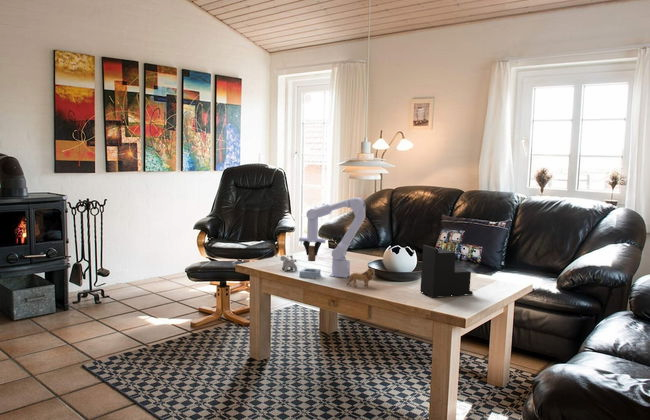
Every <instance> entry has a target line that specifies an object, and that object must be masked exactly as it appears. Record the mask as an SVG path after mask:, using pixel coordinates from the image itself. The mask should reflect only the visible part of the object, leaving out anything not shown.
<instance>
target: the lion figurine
mask: <svg viewBox="0 0 650 420" xmlns="http://www.w3.org/2000/svg"><path fill="white" fill-rule="evenodd" d="M375 274H376V272H375V269H374V268H372V267H369V268H368V269H367V270H366V271H363V272H362V273H358V272H353V273H351V274H350V275H349V277H348V278H349V279H348V281H347V284H346V286H350V287H351V286H352V285H353V286H354V287H355V288H357V287H358V285H356V283H357V281H359V282H363V286H364V285H366V286H365V287H367V288H369V287H368V286H369V282H370V281H372V280H373V278H374V277H375ZM352 282H353V283H352Z"/></svg>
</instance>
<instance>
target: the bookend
mask: <svg viewBox="0 0 650 420" xmlns="http://www.w3.org/2000/svg"><path fill="white" fill-rule="evenodd" d="M422 247H423V248H422V259H421V273H420V291H421V292H423V293H425V294H427V295H426V296H428V295H429V297H430V296H432V297H434V298H438V297H437V296H448V297H452V296H451V295H462V296H465V295H464V294H473V295H474V293H473V291H472V290H471V289H470V288H471V280H472V278H471V277H472V272H471V271H470V270H466V269H464V268H461V267H456V252H455V251H452V250H449V249H443V248H442V249H441V248H440V249H439V248H437V247H432V246H430V245H426V244H422ZM420 291H419V292H420ZM421 292H420V293H421ZM423 293H422V294H423ZM425 294H424V295H425ZM432 297H431V298H432Z"/></svg>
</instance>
